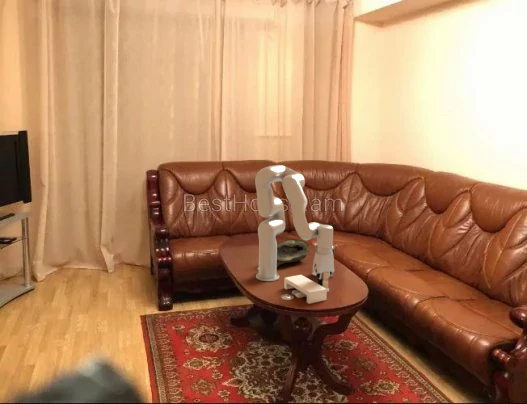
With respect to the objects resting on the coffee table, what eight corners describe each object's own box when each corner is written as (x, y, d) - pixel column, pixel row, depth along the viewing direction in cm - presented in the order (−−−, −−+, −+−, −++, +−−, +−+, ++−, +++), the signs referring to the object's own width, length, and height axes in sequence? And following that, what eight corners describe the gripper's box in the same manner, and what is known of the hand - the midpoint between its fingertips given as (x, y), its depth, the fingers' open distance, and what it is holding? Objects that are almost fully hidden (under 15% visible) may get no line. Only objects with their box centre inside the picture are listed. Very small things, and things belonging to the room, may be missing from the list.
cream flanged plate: (284, 288, 243) (284, 277, 241) (300, 284, 247) (301, 274, 246) (309, 303, 224) (309, 292, 223) (326, 299, 229) (326, 289, 228)
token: (278, 296, 232) (278, 295, 232) (289, 294, 235) (289, 293, 235) (285, 301, 227) (285, 299, 227) (295, 299, 230) (296, 297, 230)
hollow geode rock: (305, 266, 290) (297, 245, 297) (315, 257, 281) (306, 234, 288) (265, 272, 276) (257, 249, 283) (274, 262, 267) (266, 238, 274)
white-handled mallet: (292, 293, 235) (292, 274, 233) (322, 287, 244) (322, 269, 242) (298, 298, 230) (299, 278, 228) (329, 291, 239) (330, 272, 237)
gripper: (333, 246, 244) (331, 280, 247) (306, 250, 236) (305, 285, 240) (342, 250, 237) (340, 285, 241) (315, 254, 230) (313, 290, 233)
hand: (322, 284), depth 240 cm, fingers closed on white-handled mallet, 3 cm apart
